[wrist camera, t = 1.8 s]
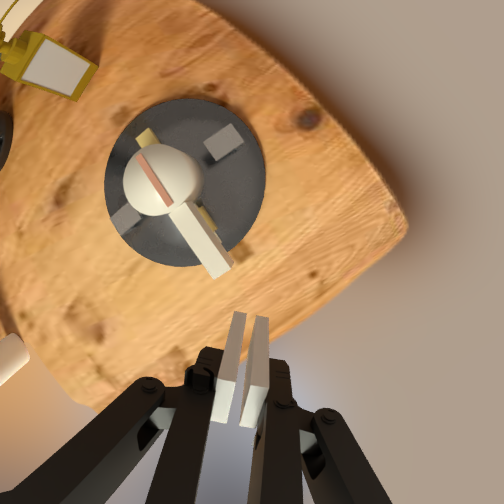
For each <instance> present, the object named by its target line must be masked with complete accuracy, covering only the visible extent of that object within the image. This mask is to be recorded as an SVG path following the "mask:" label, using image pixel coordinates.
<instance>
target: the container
mask: <svg viewBox="0 0 504 504" xmlns="http://www.w3.org/2000/svg"><path fill="white" fill-rule="evenodd" d="M28 361H29V353H28V350H27V348H26V346H25V344H24V342H23V341H22V340H21V339H20V337H19V336H18V335H16V334H15V333H10V334H9V335H8V336H6V337H5V338H3V339H2V340H0V386H1V385H2V384H3V383H4V382H5V381H6V380H7V379H9V378H10V377H11V376H12V375H13V374H14V373H15V372H17V371H18V370H19V369H20V368H21V367H22V366H24V365H25V364H26V363H27V362H28Z"/></svg>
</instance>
